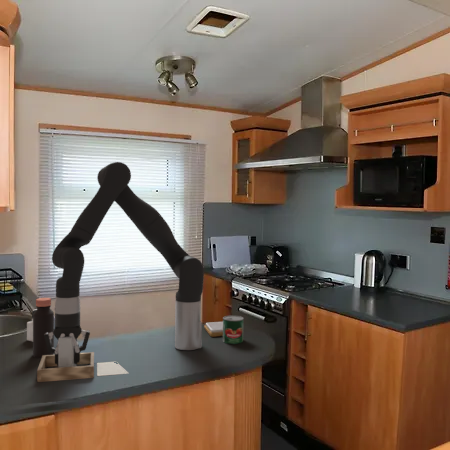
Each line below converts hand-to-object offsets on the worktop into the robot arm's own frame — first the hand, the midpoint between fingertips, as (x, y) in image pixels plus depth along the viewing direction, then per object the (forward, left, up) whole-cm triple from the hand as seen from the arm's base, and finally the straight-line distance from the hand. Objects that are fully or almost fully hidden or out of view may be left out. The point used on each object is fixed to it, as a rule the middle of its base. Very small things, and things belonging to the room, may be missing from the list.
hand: (67, 364), depth 144 cm
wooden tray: (0, 0, -3) cm, 3 cm away
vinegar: (+9, -19, -3) cm, 21 cm away
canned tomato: (-59, -16, -3) cm, 61 cm away
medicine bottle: (+12, -40, -3) cm, 42 cm away
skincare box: (0, 0, -3) cm, 3 cm away
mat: (-15, 0, -3) cm, 15 cm away
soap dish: (-57, -29, -3) cm, 64 cm away
